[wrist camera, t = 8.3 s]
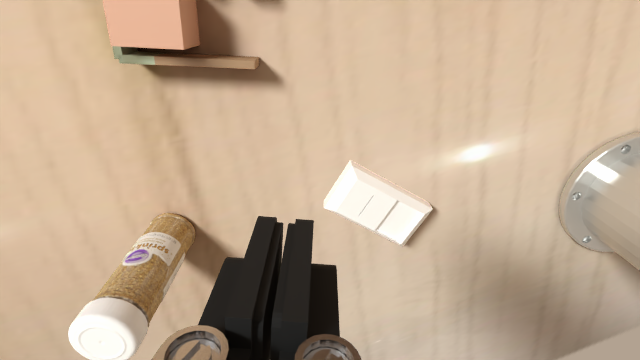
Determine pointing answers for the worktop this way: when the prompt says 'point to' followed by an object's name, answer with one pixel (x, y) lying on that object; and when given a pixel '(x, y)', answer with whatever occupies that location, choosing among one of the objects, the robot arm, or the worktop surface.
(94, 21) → the worktop surface
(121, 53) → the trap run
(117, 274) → the sprinkles bottle
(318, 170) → the worktop surface
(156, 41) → the block
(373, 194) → the white flat block
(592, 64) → the worktop surface
